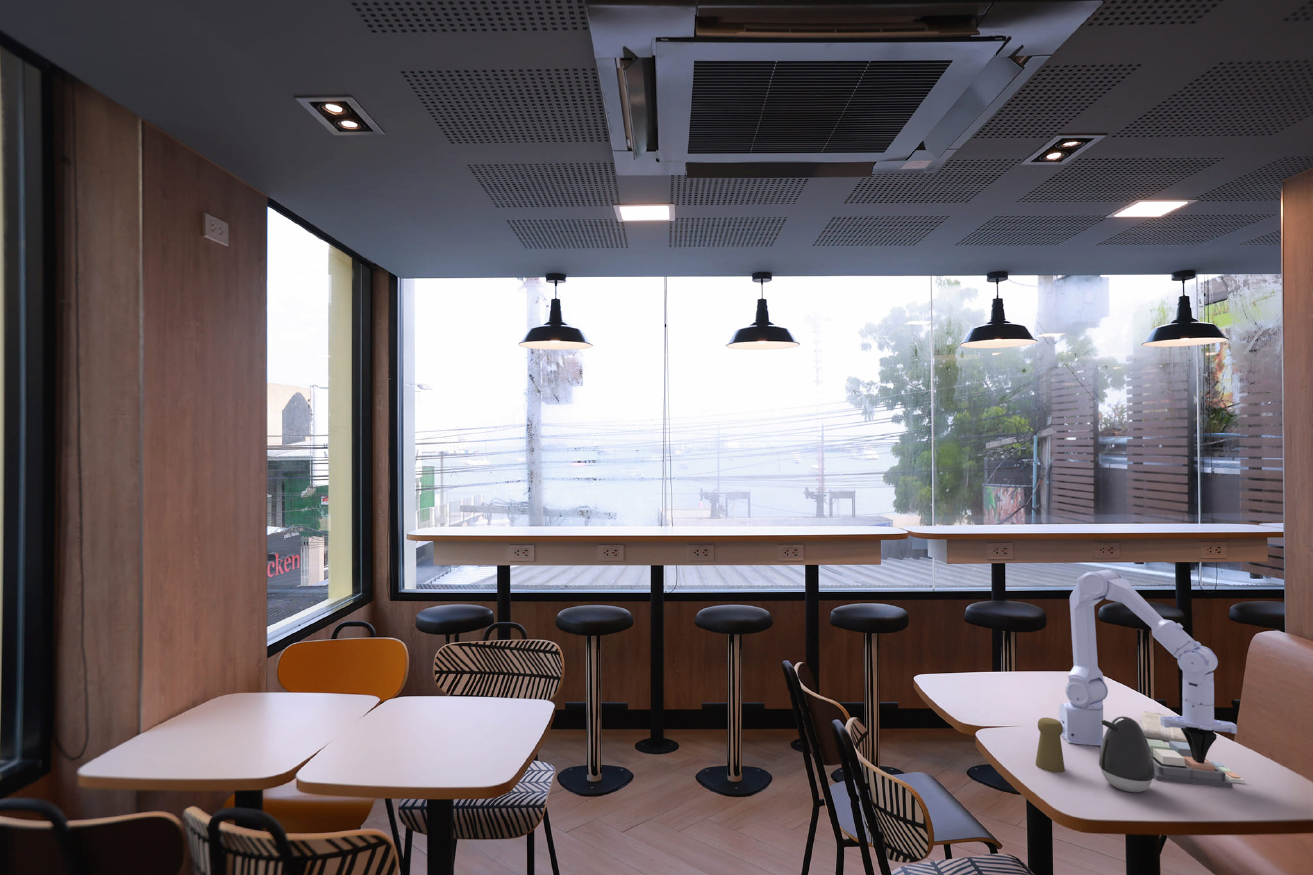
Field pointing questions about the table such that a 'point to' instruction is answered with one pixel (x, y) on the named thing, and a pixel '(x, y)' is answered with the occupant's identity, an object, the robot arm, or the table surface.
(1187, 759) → the terracotta key
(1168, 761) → the ivory key
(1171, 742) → the slate key
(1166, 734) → the washcloth
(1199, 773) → the keypad base
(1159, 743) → the sage key
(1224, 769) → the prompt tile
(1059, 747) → the cork
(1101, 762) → the pump dispenser
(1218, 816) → the table surface
